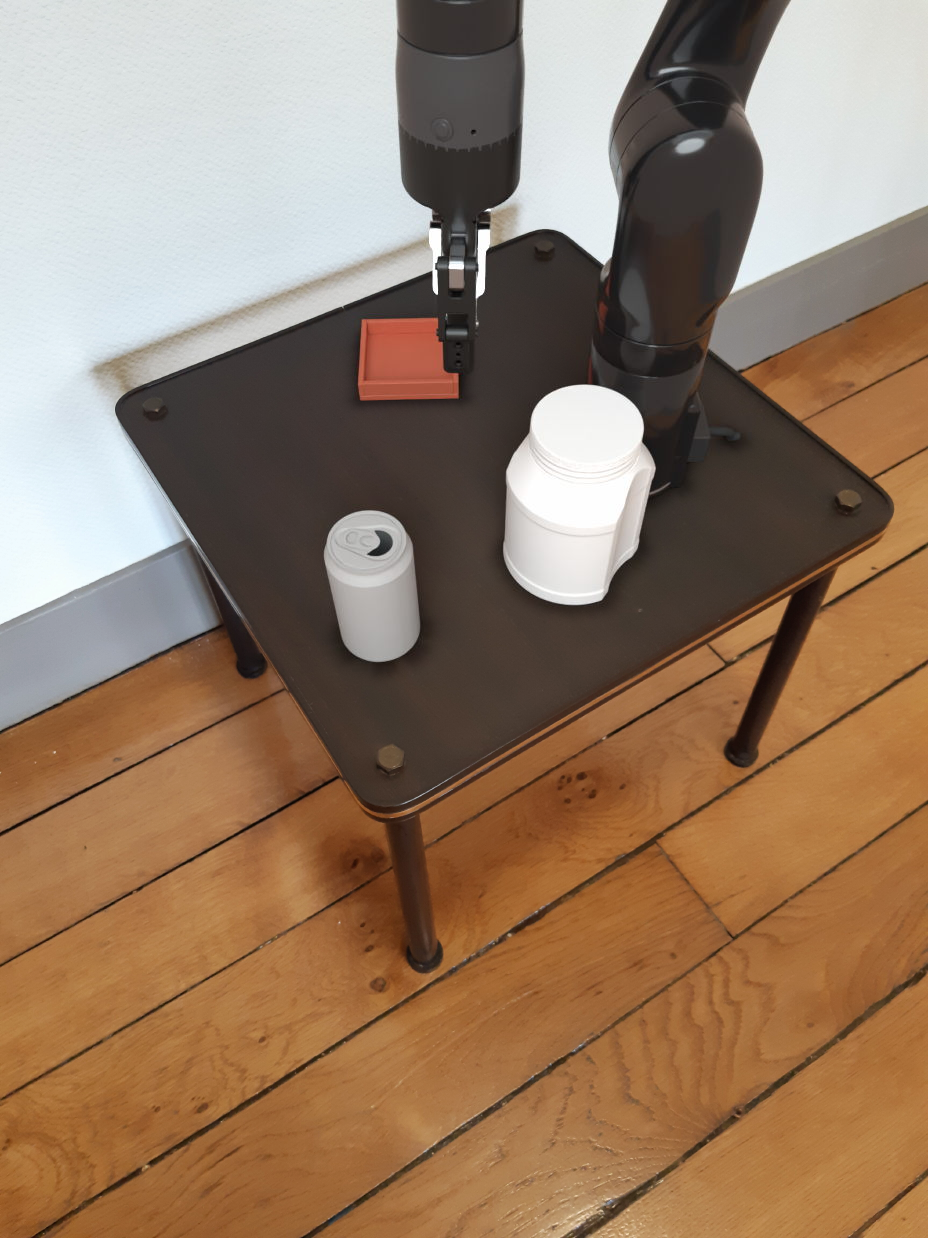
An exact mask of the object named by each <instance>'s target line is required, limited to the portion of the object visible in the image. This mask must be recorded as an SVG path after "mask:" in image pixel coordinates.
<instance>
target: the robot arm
mask: <svg viewBox="0 0 928 1238" xmlns="http://www.w3.org/2000/svg"><path fill="white" fill-rule="evenodd" d="M791 2H792V0H666V2H665V5H664V7H663V9H662V10H661V12H660V15H659V17H658V19H657V20H656V23H655V26H654V28H653V30H652V32H651V34H650V36H649V38H648V40H647V42H646V43H645V46H644V48H643V50H642V52H641V55H640V56H639V58H638V61H637V63H636V64H635V66H634V69H633V71H632V73H631V75H630V77H629V79H628V81H627V83H626V85H625V87H624V89H623V92H622V94H621V96H620V98H619V101H618V103H617V106H616V108H615V111H614V113H613V117H612V121H611V123H610V128H609V134H608V144H607V145H608V146H607V152H608V159H609V160H608V161H609V166H610V171H611V174H612V178H613V183H614V186H615V190H616V194H617V199H618V208H617V217H616V218H617V219H616V225H615V233H614V240H613V245H612V252H611V256H610V258H608V259H607V260H606V262H605V263H604V265H603V266H602V269H601V270H600V274H599V278H598V282H597V290H596V297H595V307H594V315H593V316H594V317H593V322H592V323H593V324H592V332H591V339H590V346H589V354H588V362H587V368H586V369H587V370H586V377H585V378H586V379H585V385H595V386H600V387H604V388H608V389H611V390H613V391H616V392H618V393H620V394H621V395H623V396H625V397H626V398H627V399H629V400H630V401H631V402H632V403H633V404H634V405H635V406H636V408H637V409H638V410H639V412H640V414H641V416H642V419H643V424H644V432H643V437H642V443H643V444H644V445H645V446H646V448H647V449H648V451H649V452H650V454H651V456H652V458H653V461H654V464H655V467H656V469H655V473H654V477H653V479H652V482H651V486H650V490H649V495H648V499H647V500H650V499H653V498H655V497H658V496H660V495H662V494H663V493H665V492H666V491H668V489H670V488H680V487H681V486H682V483H683V479H684V475H685V472H686V469H687V468H686V467H687V464H688V463H703V462H704V461H705V459H706V455H707V451H708V450H709V449H708V448H709V445H710V442H711V436H724V438H725V440H726V441H727V442H735V441H738V440H740V439H741V433H740V431H739V430H736V431H735V430H734V428H731V427H728V426H720V425H719V426H718V425H717V426H716V425H715V426H714V425H708V420H707V417H706V413H705V408H704V404H703V403H704V402H703V400H702V399H700V395H699V391H698V390H699V386H700V383H701V378H702V374H703V370H704V367H705V363H706V359H707V355H708V351H709V347H710V344H711V338H712V335H713V331H714V327H715V323H716V320H717V316H718V313H719V309H720V307H722V305H723V304H724V302H725V301H726V300H727V299H728V297H729V295H730V294H731V292H732V290H733V288H734V286H735V284H736V281H737V279H738V275H739V271H740V268H741V265H742V263H743V259H744V255H745V252H746V250H747V246H748V243H749V240H750V238H751V237H750V236H751V233H752V230H753V226H754V223H755V221H756V220H755V219H756V216H757V214H758V213H757V212H758V209H759V205H760V201H761V195H762V191H763V184H764V183H763V182H764V159H763V154H762V151H761V149H760V146H759V144H758V141H757V139H756V137H755V134H754V131H753V128H752V127H751V124H750V122H749V120H748V117H747V114H746V108H747V102H748V100H749V96H750V93H751V90H752V87H753V84H754V82H755V79H756V76H757V74H758V71H759V70H760V66H761V64H762V62H763V60H764V58H765V55H766V54H767V53H766V52H767V50H768V48H769V45H770V44H771V41H772V39H773V37H774V35H775V33H776V29H777V28H778V25H779V24H780V22H781V20H782V17H783V16H784V13H785V12H786V10H787V8H788V6H789V5H790V3H791ZM395 12H396V50H395V63H394V64H395V66H394V75H395V76H394V77H395V78H394V79H395V93H396V94H395V95H396V110H397V131H398V145H399V162H400V164H399V165H400V178H401V183H402V187H403V188H404V190H405V192H406V193H407V195H409V197H410V198H411V199H413V200H414V201H415V202H416V203H418V204H419V205H421V206H422V207H424V208H428V209H430V210H431V218H432V220H429V240H428V241H429V246H430V248H431V249H432V290H433V292H434V293H435V295H436V296H437V297H436V298H437V299H436V301H437V318H438V328H437V329H436V336H438V341H439V342H443V369H444V371H445V372H447V373H458V374H465V375H466V374H467V375H468V374H472V373H473V372H474V371H475V365H476V364H475V362H476V352H475V351H476V340H477V339H476V338H478V337H479V329H478V328H479V326H480V325H479V323H480V320H479V319H478V318H477V317H478V315H477V314H478V298H479V297H481V296H482V295H484V293H485V290H486V262H487V261H486V257H487V251H488V250H489V249H490V246H491V221H492V209H494V208H496V207H498V206H500V205H502V204H504V203H505V202H506V201H507V200H509V199H510V198H511V197H512V196H513V195H514V193H515V192H516V190H517V189H518V187H519V184H520V180H521V169H522V168H521V167H522V147H523V146H522V145H523V129H524V127H523V126H524V107H525V106H524V105H525V89H526V87H525V86H526V58H525V47H524V18H525V15H524V14H525V0H395Z"/></svg>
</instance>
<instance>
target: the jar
mask: <svg viewBox="0 0 928 1238" xmlns="http://www.w3.org/2000/svg"><path fill="white" fill-rule="evenodd" d="M529 424H530V425H529V432H528V434H527V435H526V436H525V438H524V439H523V441H522V442H521V443H520V445H519V446H518V448H516V450H515V451H514V453H513V455H512V456H511V459H510V461H509V464H508V465H507V468H506V471H505V485H506V499H505V523H504V527H505V529H504V540H503V543H502V544H503V545H502V548H503V549H502V553H503V559H504V563H505V566H506V568H507V570H508V572H509V573H510V575H511V576H512V578H513V579H514V580H515V581H516V582H517V584H518V585H520V586H521V587H522V588H523V589H525V590H526V591H527V592H529V594H532V595H534V596H535V597H537V598H539V599H542V600H545V601H547V602H550V603H553V604H559V605H565V606H566V605H567V606H581V605H582V606H583V605H588V604H589V605H590V604H593V603H596V602H597V603H599V602H600V601H602V600H604V597H605V596H606V595H607V593H608V592H609V589H610V588H609V587H610V584H611V581H612V580H613V578H614V575H615V574H616V573H617V571H618V570H619V569H620V567H621V566H623V564H625V562H626V561H628V560H630V559H632V558H633V556H634V555H635V553H636V552H637V550H638V548H639V543H640V534H641V530H642V525H643V521H644V518H645V512H646V508H647V503H648V500H649V499H648V495H649V490H650V486H651V482H652V479H653V477H654V473H655V469H656V467H655V464H654V461H653V458H652V456H651V454H650V452H649V451H648V449H647V448H646V446H645V445H644V444H643V443H642V437H643V432H644V424H643V419H642V416H641V414H640V412H639V410H638V409H637V408H636V406H635V405H634V404H633V403H632V402H631V401H630V400H629V399H627V398H626V397H625V396H623V395H621V394H620V393H618V392H616V391H613V390H611V389H608V388H604V387H600V386H595V385H586V384H574V385H568V386H563V387H561V388H557V389H556V390H553V391H551V392H550V393H547V394H546V395H545V396H543V398H541V399H540V400H539V401H538V403H536V405H535V407H534V409H533V411H532V413H531V417H530V423H529Z"/></svg>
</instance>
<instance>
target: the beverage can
mask: <svg viewBox="0 0 928 1238" xmlns="http://www.w3.org/2000/svg"><path fill="white" fill-rule="evenodd" d="M323 559H324V564H325V569H326V574H327V578H328V583H329V587H330V592H331V596H332V601H333V605H334V610H335V614H336V618H337V623H338V627H339V632H340V636H341V640H342V642H343V644H344V646H345V647H346V648H347V650H348V651H349V652H350V653H352V654H353V655H354V656H355V657H357V658H359V659H362V660H365V661H368V662H372V663H373V662H375V663H382V662H389V661H393V660H395V659H398V658H400V657H402V656H403V655H405V654H406V653H408V652H409V651H410V650H411V649H412V648H413V647H414V645H415V644H416V642H417V640H418V639H419V636H420V632H421V618H420V607H419V598H418V588H417V587H418V586H417V577H416V567H415V556H414V546H413V542H412V540H411V537H410V535H409V534H408V532H407V531H406V530H405V527H404V526H403V524H402V523H401V522H400V521H399V520H398V519H397V518H395V516H393V515H392V514H389V513H386V512H383V511H379V510H359V511H355V512H352V513H350V514H347V515H345V516H344V517H342V518H341V519H339V520H338V521H337V522H336V523H335V524H334V525H333V526H332V528H331V529H330V530H329V533H328V535H327V539H326V544H325V547H324V550H323Z"/></svg>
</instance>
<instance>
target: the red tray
mask: <svg viewBox="0 0 928 1238" xmlns="http://www.w3.org/2000/svg"><path fill="white" fill-rule="evenodd" d="M437 328H438V317H417V318H416V317H415V318H414V317H411V318H409V317H408V318H366V319H365V318H363V319H361V328H360V329H361V330H360V332H361V333H360V344H359V345H360V347H359V361H358V362H359V363H358V378H357V380H358V381H357V387H358V394H359V400H360V401H396V400H397V401H399V400H402V401H403V400H441V399H442V400H443V399H444V400H446V399H447V400H449V399H459V398H460V392H459V391H460V387H459V373H447V372H445V371H444V369H443V342H439V341H438V336H436V329H437Z"/></svg>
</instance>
